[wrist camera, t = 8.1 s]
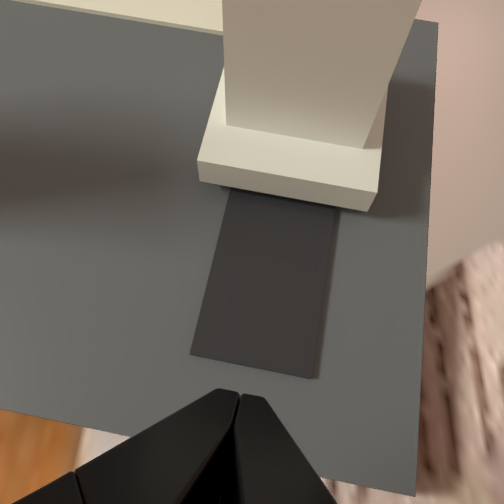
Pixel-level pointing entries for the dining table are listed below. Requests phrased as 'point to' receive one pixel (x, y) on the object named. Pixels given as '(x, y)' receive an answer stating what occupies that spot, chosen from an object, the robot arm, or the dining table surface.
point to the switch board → (199, 245)
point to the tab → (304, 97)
